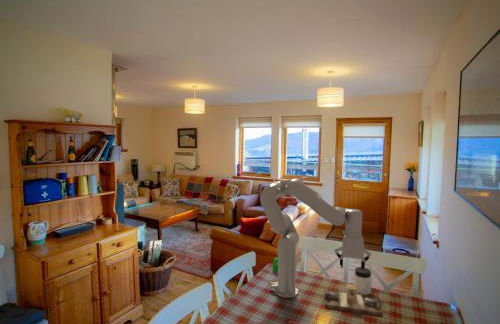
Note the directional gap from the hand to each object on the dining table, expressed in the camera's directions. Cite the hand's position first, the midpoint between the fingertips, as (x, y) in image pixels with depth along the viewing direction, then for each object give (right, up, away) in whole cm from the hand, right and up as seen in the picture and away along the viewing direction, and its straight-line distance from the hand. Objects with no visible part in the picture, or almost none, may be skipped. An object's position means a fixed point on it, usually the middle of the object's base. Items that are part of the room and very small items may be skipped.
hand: (351, 267), depth 144 cm
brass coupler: (0, -17, +1) cm, 17 cm away
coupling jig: (0, -18, +1) cm, 18 cm away
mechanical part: (-30, -16, +40) cm, 52 cm away
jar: (+10, -18, +14) cm, 25 cm away
